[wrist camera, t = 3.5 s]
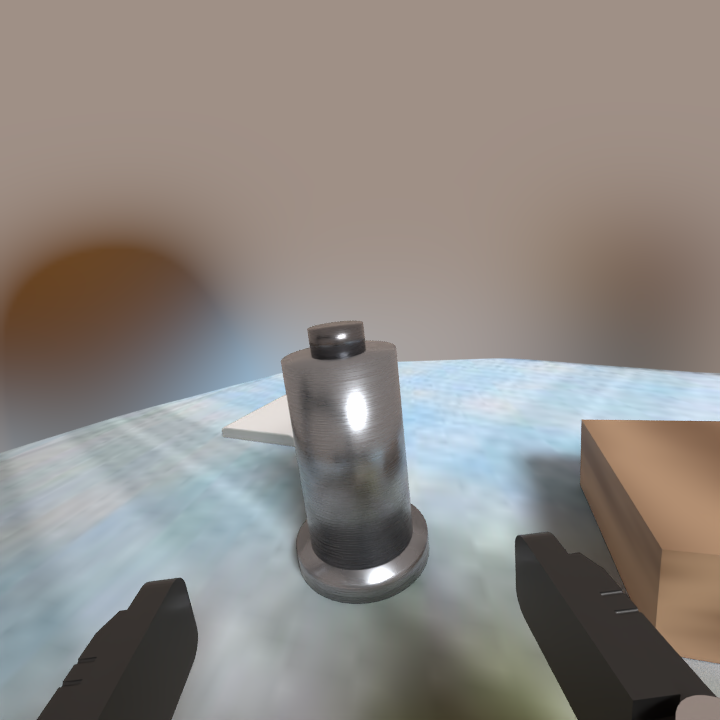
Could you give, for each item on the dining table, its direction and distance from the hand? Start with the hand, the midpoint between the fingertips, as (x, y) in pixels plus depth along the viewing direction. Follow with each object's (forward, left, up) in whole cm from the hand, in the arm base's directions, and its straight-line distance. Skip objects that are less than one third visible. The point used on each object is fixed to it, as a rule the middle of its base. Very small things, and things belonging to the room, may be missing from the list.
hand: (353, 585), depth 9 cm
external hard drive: (-15, +25, -7) cm, 30 cm away
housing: (-3, +8, -6) cm, 10 cm away
